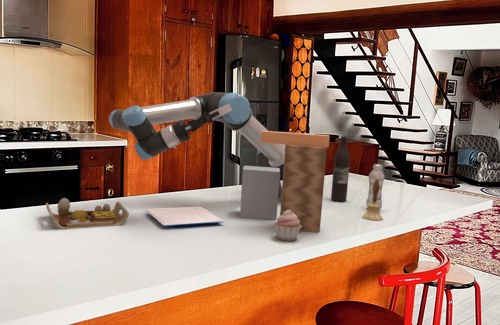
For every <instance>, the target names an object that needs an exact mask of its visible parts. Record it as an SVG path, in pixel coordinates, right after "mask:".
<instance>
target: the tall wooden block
mask: <svg viewBox="0 0 500 325" xmlns="http://www.w3.org/2000/svg"><path fill="white" fill-rule="evenodd" d="M327 150H328V147H315V146H300V145H286V144H285V156H284V169H283V176H282V182H281V185H282V196H281V197H280V198H281V199H280V213H279V216H281V215H282V214H283V213H284V212H285V211H287V210H291V212H293V213H294V214H295V215H296V216H297V217H298V219H299V221H300V225H302V227H301V228H300V230H299V231H301V232H303V231H304V232H313V233H314V232H315V233H320V232H321V221H322V211H323V210H322V209H323V199H324V198H323V197H324V188H325V178H326V177H325V175H326V164H327V162H326V161H327V154H328V153H327V152H328V151H327Z"/></svg>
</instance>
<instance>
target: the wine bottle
mask: <svg viewBox="0 0 500 325" xmlns="http://www.w3.org/2000/svg"><path fill="white" fill-rule="evenodd" d="M347 141H348V136H345V135H342V136H341V137H340V146H339V147H338V150H337V151H336V153H335V155H334V160H333V170H332V171H333V172H332V181H331V194H330V200H331V201H333V202H336V203H345V202H347V198H348V196H347V195H348V186H349V185H348V184H349V175H350V174H349V173H350V166H351V165H350V164H351V162H350V161H351V156H350V152H349V150H348V147H347Z"/></svg>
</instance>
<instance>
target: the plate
mask: <svg viewBox="0 0 500 325" xmlns="http://www.w3.org/2000/svg"><path fill="white" fill-rule="evenodd" d="M145 212H146V213H148V214H149V215H150V216H151V217H152V218H154V219H155V220H156V221H157V222H158V223H160V224H161V225H162V226H163V227H178V226H192V225H206V224H216V223H224V222H225V220H223V219H222V218H220V217H219V216H217V215H215V214H214V213H213V212H210V211H209V210H207V209H205V208H204V207H202V206H183V207H181V206H180V207H163V208H162V207H160V208H147V209H145Z"/></svg>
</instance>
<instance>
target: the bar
mask: <svg viewBox="0 0 500 325" xmlns="http://www.w3.org/2000/svg"><path fill="white" fill-rule="evenodd" d="M330 137H331V136H330V135H329V134H317V133H307V132H306V133H300V132H287V131H271V130H268V131H261V143H271V144H282V145H283V144H286V145H300V146H315V147H326V148H330Z"/></svg>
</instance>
